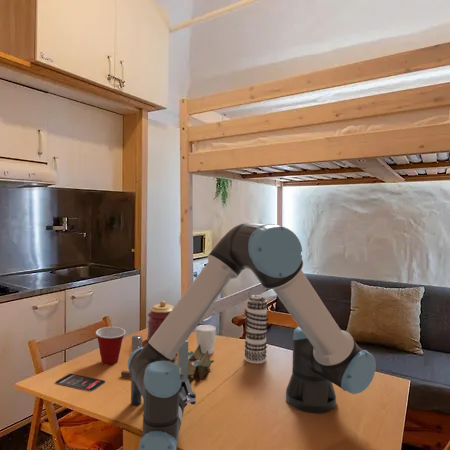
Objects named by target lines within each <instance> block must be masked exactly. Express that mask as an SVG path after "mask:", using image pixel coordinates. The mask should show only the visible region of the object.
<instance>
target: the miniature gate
mask: <svg viewBox="0 0 450 450" xmlns="http://www.w3.org/2000/svg"><path fill="white" fill-rule="evenodd" d="M209 355H210V354H209ZM209 355H208V351H207V352H206V353H204V354H202V352H201V346H200V344H199V346H198V347H197V346H196V349H195V350H194V351H193V350H192V351H188V379H189V382H190V380H194V376H195V373H196V372H198V377H199V381H200V380H201V381H203V378H204V376H205V375H206V373H207V372H208V371H211V368H210V367H211V366H212V364H213V363H214V360H213V359H212V360H211V359H210V357H209ZM172 360H173V363H175V364H176V365H177V354H176V355H175V356H174V358H173V359H172ZM120 377H121V378H125V379H126V378H127V379H131V376H130V373H129V370H122V371H121V372H120Z"/></svg>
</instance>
